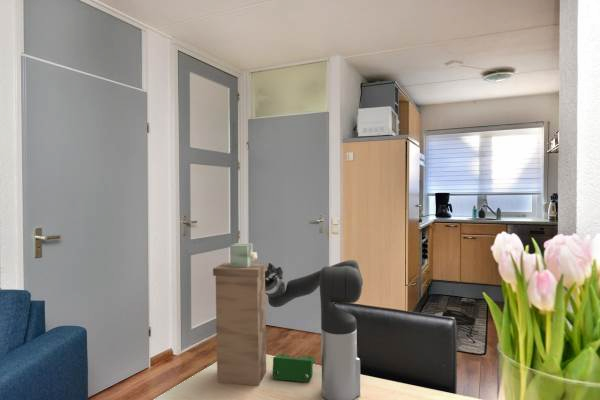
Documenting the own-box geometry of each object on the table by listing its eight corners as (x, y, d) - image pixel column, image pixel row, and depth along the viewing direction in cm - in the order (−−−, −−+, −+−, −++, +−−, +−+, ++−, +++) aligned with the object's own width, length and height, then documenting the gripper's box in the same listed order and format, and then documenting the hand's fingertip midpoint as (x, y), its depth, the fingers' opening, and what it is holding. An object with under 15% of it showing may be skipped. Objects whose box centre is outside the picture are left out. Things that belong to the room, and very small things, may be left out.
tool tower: (226, 368, 116) (224, 262, 115) (268, 371, 114) (266, 263, 113) (214, 382, 107) (213, 268, 107) (260, 386, 105) (258, 269, 104)
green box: (307, 389, 111) (320, 360, 112) (303, 395, 106) (317, 363, 107) (272, 369, 115) (285, 340, 116) (266, 373, 109) (279, 343, 110)
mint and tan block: (245, 258, 123) (245, 239, 123) (261, 258, 122) (260, 239, 122) (230, 266, 109) (230, 245, 109) (247, 267, 108) (247, 245, 108)
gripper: (250, 270, 143) (237, 254, 129) (287, 271, 140) (279, 255, 126) (247, 290, 139) (234, 276, 125) (285, 291, 137) (276, 277, 123)
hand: (256, 265), depth 126 cm, fingers open, 8 cm apart
